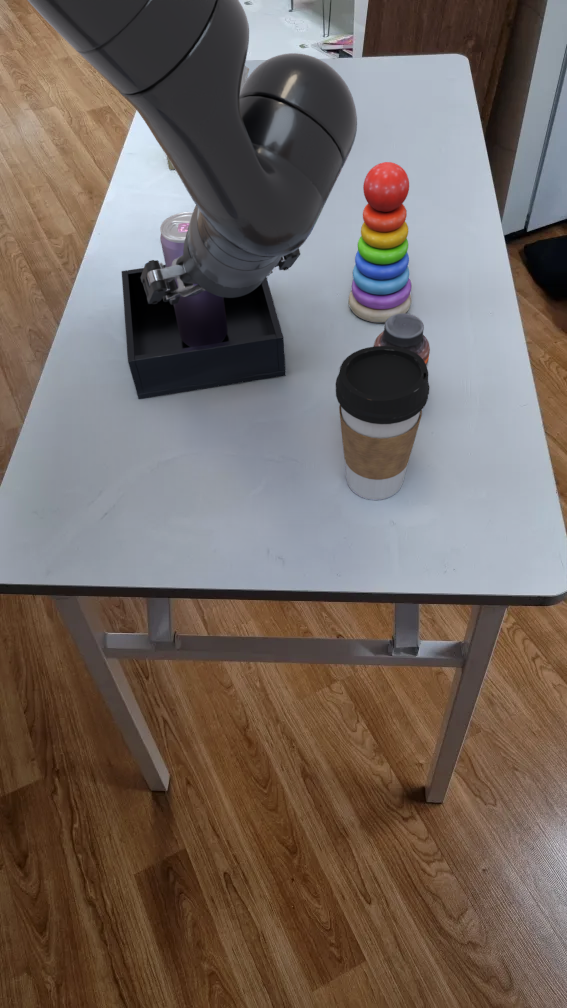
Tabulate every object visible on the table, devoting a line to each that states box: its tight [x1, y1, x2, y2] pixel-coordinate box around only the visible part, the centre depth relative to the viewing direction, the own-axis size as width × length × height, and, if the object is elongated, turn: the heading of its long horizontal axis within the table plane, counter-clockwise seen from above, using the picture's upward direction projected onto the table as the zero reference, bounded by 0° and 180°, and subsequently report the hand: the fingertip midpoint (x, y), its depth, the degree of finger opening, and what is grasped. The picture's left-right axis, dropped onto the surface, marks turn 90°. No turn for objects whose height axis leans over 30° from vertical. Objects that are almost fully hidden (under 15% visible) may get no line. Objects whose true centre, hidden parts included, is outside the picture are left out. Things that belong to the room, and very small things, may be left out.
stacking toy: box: [348, 161, 412, 324], centre depth 86 cm, size 8×8×19 cm
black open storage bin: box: [121, 264, 287, 400], centre depth 88 cm, size 18×18×6 cm
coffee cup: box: [335, 345, 430, 501], centre depth 69 cm, size 8×8×15 cm
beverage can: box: [159, 211, 228, 347], centre depth 84 cm, size 6×6×15 cm
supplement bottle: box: [372, 312, 431, 367], centre depth 77 cm, size 6×6×11 cm
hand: (211, 283), depth 73 cm, fingers open, 8 cm apart
